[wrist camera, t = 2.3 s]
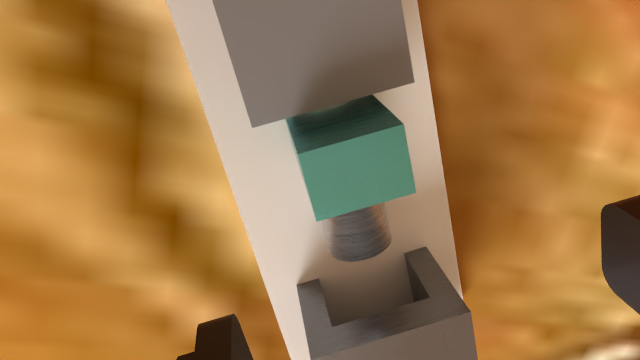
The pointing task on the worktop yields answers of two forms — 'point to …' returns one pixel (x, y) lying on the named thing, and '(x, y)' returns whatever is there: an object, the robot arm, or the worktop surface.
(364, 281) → the board
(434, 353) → the socket
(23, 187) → the worktop surface
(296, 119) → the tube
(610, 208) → the robot arm
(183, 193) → the worktop surface
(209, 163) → the worktop surface
